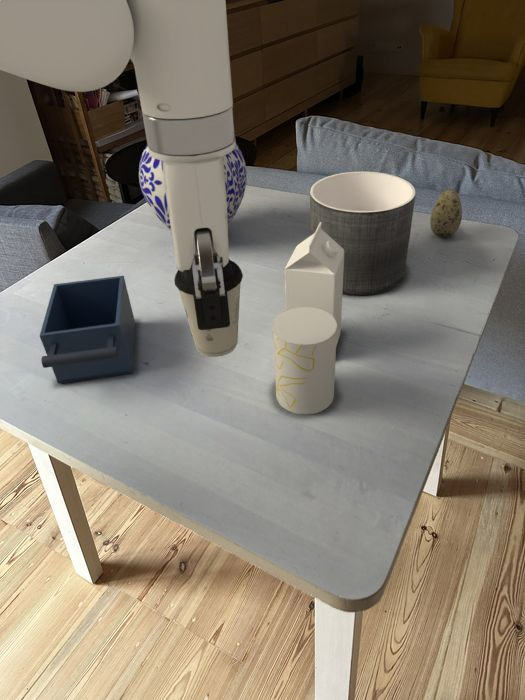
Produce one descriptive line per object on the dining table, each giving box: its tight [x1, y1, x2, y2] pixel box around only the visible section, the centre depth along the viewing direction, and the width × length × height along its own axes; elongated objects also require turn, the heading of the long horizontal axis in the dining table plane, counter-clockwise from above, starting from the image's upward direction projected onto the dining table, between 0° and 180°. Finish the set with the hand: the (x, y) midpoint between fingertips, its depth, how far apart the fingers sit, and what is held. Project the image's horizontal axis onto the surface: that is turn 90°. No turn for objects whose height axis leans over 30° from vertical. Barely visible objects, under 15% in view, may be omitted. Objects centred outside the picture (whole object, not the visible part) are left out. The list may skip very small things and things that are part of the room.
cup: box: [272, 307, 337, 415], centre depth 72 cm, size 8×8×12 cm
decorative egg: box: [429, 188, 463, 239], centre depth 107 cm, size 6×6×10 cm
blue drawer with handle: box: [39, 275, 136, 385], centre depth 81 cm, size 18×11×9 cm, turn 9°
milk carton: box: [284, 222, 344, 347], centre depth 79 cm, size 7×7×19 cm
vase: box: [138, 143, 248, 231], centre depth 107 cm, size 22×22×30 cm
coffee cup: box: [173, 256, 244, 358], centre depth 56 cm, size 7×7×10 cm
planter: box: [309, 171, 417, 296], centre depth 96 cm, size 18×18×16 cm
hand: (211, 304), depth 56 cm, fingers closed on coffee cup, 7 cm apart
